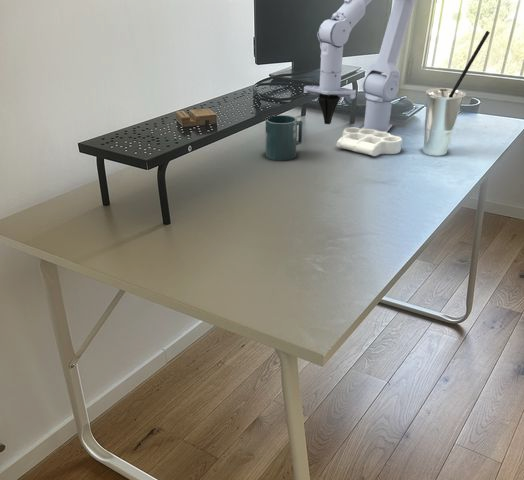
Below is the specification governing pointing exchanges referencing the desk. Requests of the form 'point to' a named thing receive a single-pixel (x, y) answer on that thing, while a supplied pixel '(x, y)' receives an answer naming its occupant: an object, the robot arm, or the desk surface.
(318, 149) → the desk surface
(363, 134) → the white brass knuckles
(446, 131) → the metal cup with straw
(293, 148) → the mug
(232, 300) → the desk surface
